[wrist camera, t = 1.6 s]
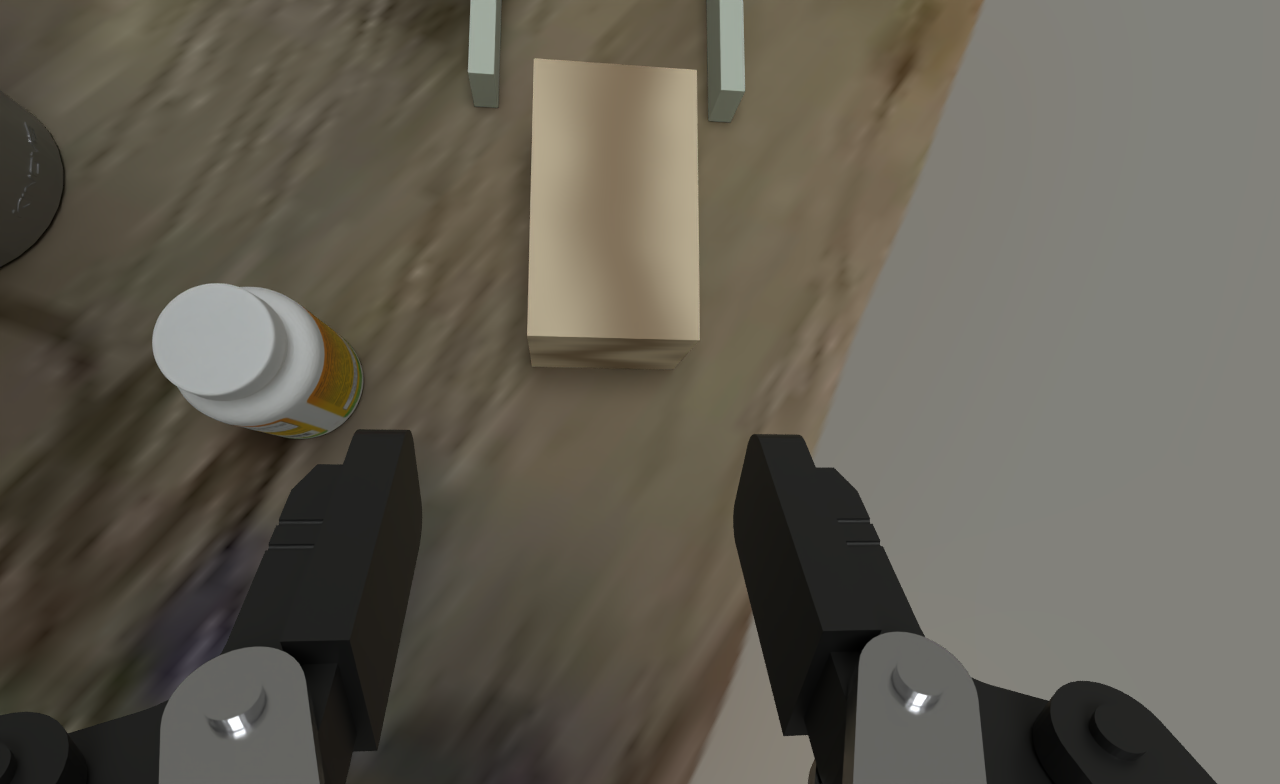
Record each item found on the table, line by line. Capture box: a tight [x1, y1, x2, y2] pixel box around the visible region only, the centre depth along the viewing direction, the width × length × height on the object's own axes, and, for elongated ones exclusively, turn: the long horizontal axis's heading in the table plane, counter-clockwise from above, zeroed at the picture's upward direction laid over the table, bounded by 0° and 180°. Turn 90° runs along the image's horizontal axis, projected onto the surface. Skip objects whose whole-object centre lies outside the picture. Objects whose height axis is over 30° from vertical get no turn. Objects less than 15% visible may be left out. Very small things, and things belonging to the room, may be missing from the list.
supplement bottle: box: [152, 283, 363, 439], centre depth 30 cm, size 5×5×10 cm
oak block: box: [527, 58, 700, 370], centre depth 34 cm, size 7×12×7 cm, turn 0°
